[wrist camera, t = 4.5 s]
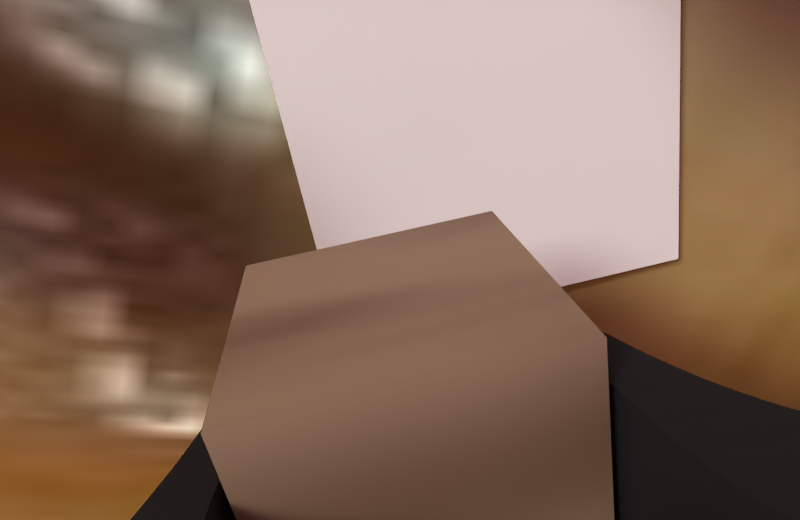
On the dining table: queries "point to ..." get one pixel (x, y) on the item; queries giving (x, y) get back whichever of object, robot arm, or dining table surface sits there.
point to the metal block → (412, 385)
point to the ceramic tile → (486, 121)
